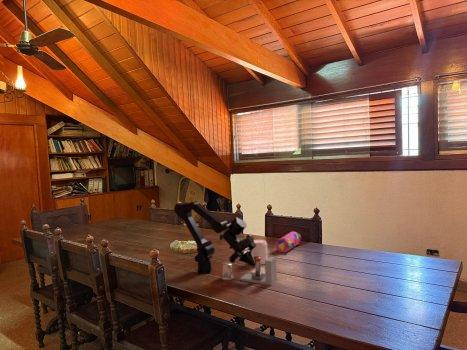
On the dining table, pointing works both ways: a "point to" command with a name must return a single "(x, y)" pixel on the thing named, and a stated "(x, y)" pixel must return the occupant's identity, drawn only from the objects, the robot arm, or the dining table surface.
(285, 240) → the pencil case
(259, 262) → the ball-topped lever
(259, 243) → the beige cylinder
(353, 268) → the dining table surface
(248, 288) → the dining table surface
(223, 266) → the knob
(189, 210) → the robot arm
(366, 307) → the dining table surface
